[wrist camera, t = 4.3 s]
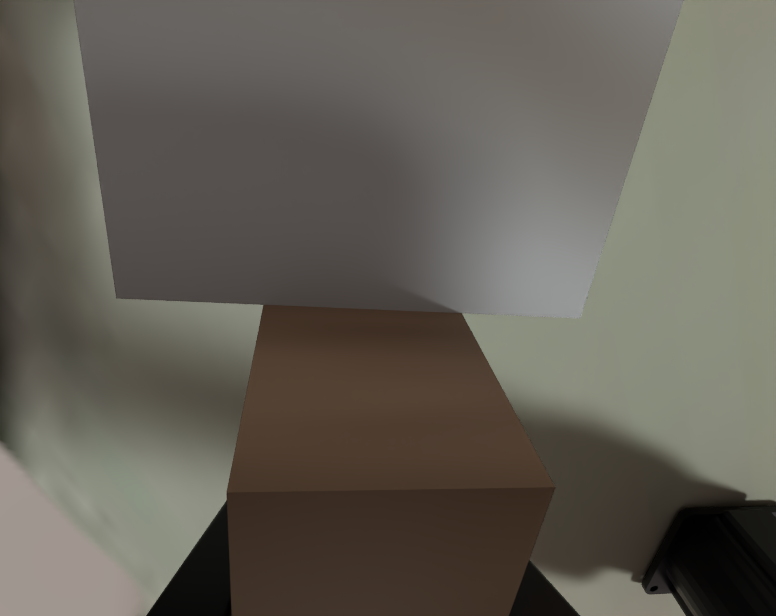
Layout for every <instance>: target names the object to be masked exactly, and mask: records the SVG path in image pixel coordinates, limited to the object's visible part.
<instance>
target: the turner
mask: <svg viewBox="0 0 776 616" xmlns="http://www.w3.org/2000/svg"><path fill="white" fill-rule="evenodd" d="M682 4H683V0H74V6H75V13H76V20H77V27H78V34H79V41H80V48H81V55H82V62H83V69H84V76H85V83H86V90H87V97H88V104H89V111H90V118H91V125H92V132H93V139H94V146H95V153H96V160H97V167H98V174H99V181H100V188H101V194H102V201H103V208H104V215H105V222H106V229H107V236H108V243H109V250H110V257H111V264H112V271H113V278H114V285H115V292H116V298H121V299H144V300H167V301H191V302H214V303H237V304H260V305H264V306H263V311H262V316H261V321H260V326H259V331H258V336H257V341H256V346H255V351H254V356H253V361H252V366H251V372H250V377H249V382H248V387H247V392H246V397H245V402H244V407H243V412H242V417H241V422H240V427H239V432H238V437H237V443H236V448H235V453H234V458H233V463H232V468H231V473H230V478H229V483H228V488H227V513H228V537H229V561H230V585H231V609H232V616H509V614H510V611H511V608H512V606H513V603H514V600H515V597H516V595H517V592H518V589H519V586H520V583H521V581H522V578H523V575H524V572H525V570H526V567H527V564H528V561H529V559H530V556H531V553H532V550H533V548H534V545H535V542H536V539H537V536H538V534H539V531H540V528H541V525H542V523H543V520H544V517H545V514H546V512H547V509H548V506H549V503H550V501H551V498H552V495H553V492H554V489H555V486H554V484H553V482H552V480H551V478H550V476H549V475H548V473H547V471H546V469H545V467H544V465H543V463H542V462H541V460H540V458H539V456H538V454H537V452H536V450H535V449H534V447H533V445H532V443H531V441H530V439H529V437H528V436H527V434H526V432H525V430H524V428H523V426H522V424H521V423H520V421H519V419H518V417H517V415H516V413H515V411H514V410H513V408H512V406H511V404H510V402H509V400H508V398H507V397H506V395H505V393H504V391H503V389H502V387H501V385H500V384H499V382H498V380H497V378H496V376H495V374H494V372H493V371H492V369H491V367H490V365H489V363H488V361H487V359H486V358H485V356H484V354H483V352H482V350H481V348H480V346H479V345H478V343H477V341H476V339H475V337H474V335H473V333H472V332H471V330H470V328H469V326H468V324H467V322H466V320H465V319H464V317H463V315H462V313H470V314H493V315H516V316H540V317H563V318H581V314H582V311H583V308H584V305H585V302H586V299H587V296H588V293H589V290H590V287H591V284H592V281H593V277H594V274H595V271H596V268H597V265H598V262H599V259H600V256H601V253H602V250H603V247H604V244H605V241H606V237H607V234H608V231H609V228H610V225H611V222H612V219H613V216H614V213H615V210H616V207H617V204H618V201H619V197H620V194H621V191H622V188H623V185H624V182H625V179H626V176H627V173H628V170H629V167H630V164H631V161H632V157H633V154H634V151H635V148H636V145H637V142H638V139H639V136H640V133H641V130H642V127H643V124H644V121H645V117H646V114H647V111H648V108H649V105H650V102H651V99H652V96H653V93H654V90H655V87H656V84H657V80H658V77H659V74H660V71H661V68H662V65H663V62H664V59H665V56H666V53H667V50H668V47H669V44H670V40H671V37H672V34H673V31H674V28H675V25H676V22H677V19H678V16H679V13H680V10H681V7H682Z"/></svg>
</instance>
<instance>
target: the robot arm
mask: <svg viewBox="0 0 776 616" xmlns="http://www.w3.org/2000/svg"><path fill="white" fill-rule="evenodd" d="M642 587H643V589H644V590H645V592H646V593H647V594H667V593H672V595H673V596H674V598H675V599H676V601H677V602H678V604H679V605H680V607H681V609H682V610H683V612H684V613H685V615H686V616H776V506H761V507H718V508H688V509H685V510H682V511H681V512H680V513H679V514H678V515H677V517H676V519H675V521H674V523H673V525H672V527H671V529H670V531H669V532H668V534H667V536H666V538H665V540H664V542H663V544H662V546H661V548H660V549H659V551H658V553H657V555H656V557H655V559H654V561H653V563H652V565H651V566H650V568H649V570H648V572H647V574H646V576H645V578H644V580H643V582H642ZM146 616H232V609H231V585H230V561H229V537H228V513H227V501H226V502H225V504H224V505H223V506H222V508H221V509H220V511H219V512H218V514H217V515H216V517H215V518H214V519H213V521H212V522H211V524H210V525H209V527H208V528H207V529H206V531H205V532H204V534H203V535H202V537H201V538H200V539H199V541H198V542H197V544H196V545H195V547H194V548H193V549H192V551H191V552H190V554H189V555H188V557H187V558H186V559H185V561H184V562H183V564H182V565H181V567H180V568H179V569H178V571H177V572H176V574H175V575H174V577H173V578H172V579H171V581H170V582H169V584H168V585H167V587H166V588H165V590H164V591H163V592H162V594H161V595H160V597H159V598H158V600H157V601H156V602H155V604H154V605H153V607H152V608H151V610H150V611H149V612H148V614H147V615H146ZM509 616H580V615H579V614H578V613H577V612H576V611H575V609H574V608H573V607H572V606H571V605H570V604H569V603H568V602H567V601H566V600H565V598H564V597H563V596H562V595H561V594H560V593H559V592H558V591H557V590H556V588H555V587H554V586H553V585H552V584H551V583H550V582H549V581H548V580H547V579H546V577H545V576H544V575H543V574H542V573H541V572H540V571H539V570H538V569H537V568H536V566H535V565H534V564H533V563H532V562H531V561H530V560H529V561H528V564H527V567H526V570H525V572H524V575H523V578H522V581H521V583H520V586H519V589H518V592H517V595H516V597H515V600H514V603H513V606H512V608H511V611H510V614H509Z"/></svg>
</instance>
